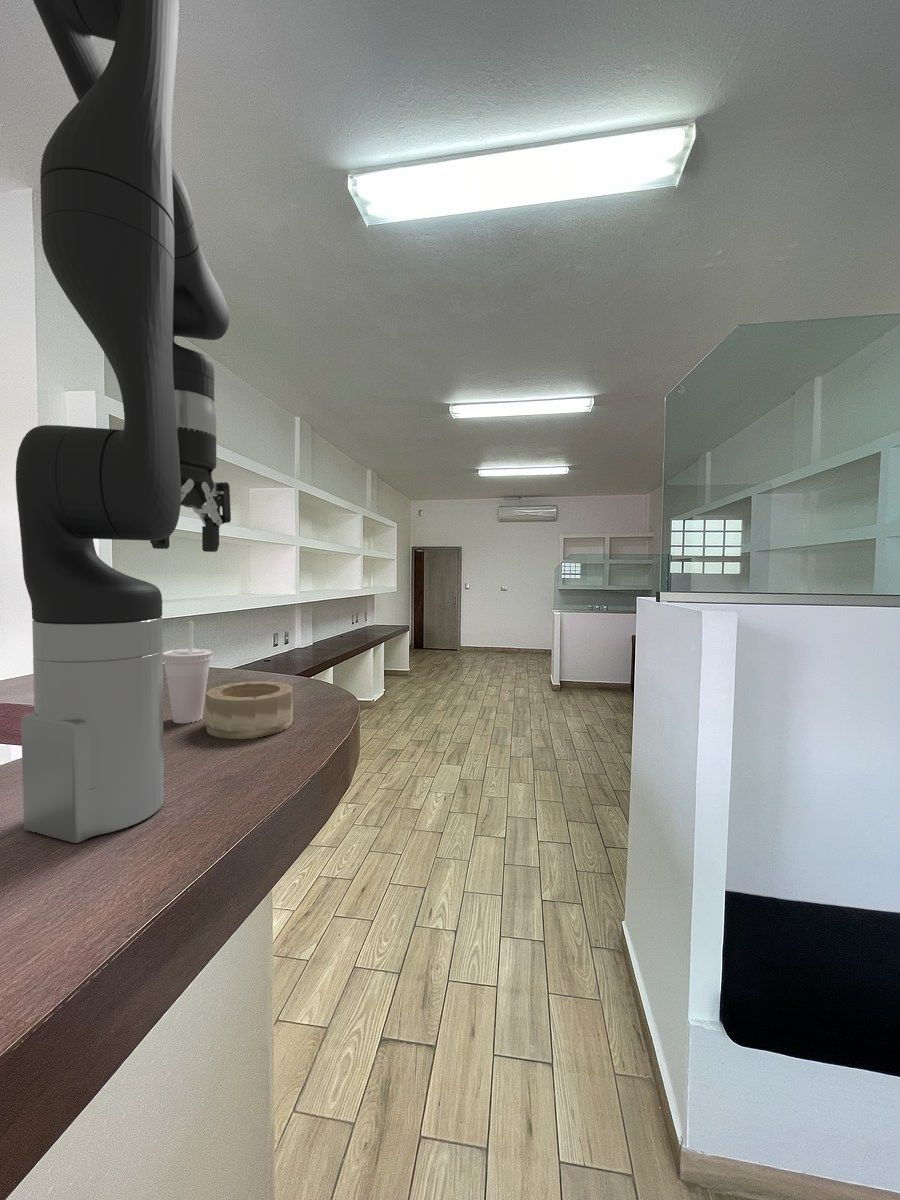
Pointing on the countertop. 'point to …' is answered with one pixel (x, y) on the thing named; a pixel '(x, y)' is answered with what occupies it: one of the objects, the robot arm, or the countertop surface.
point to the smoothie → (187, 680)
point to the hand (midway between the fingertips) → (186, 550)
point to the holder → (249, 709)
